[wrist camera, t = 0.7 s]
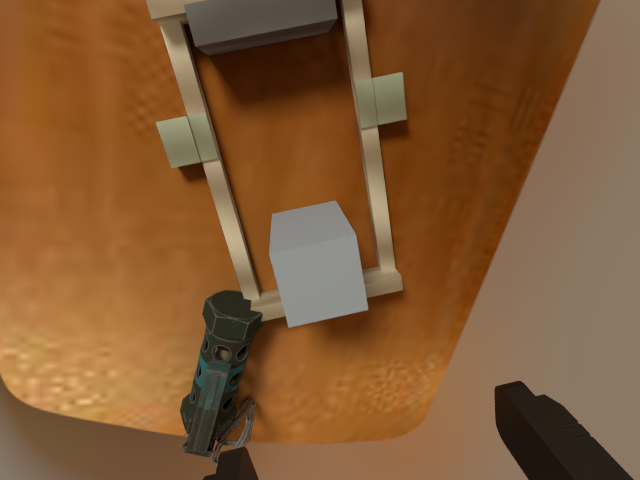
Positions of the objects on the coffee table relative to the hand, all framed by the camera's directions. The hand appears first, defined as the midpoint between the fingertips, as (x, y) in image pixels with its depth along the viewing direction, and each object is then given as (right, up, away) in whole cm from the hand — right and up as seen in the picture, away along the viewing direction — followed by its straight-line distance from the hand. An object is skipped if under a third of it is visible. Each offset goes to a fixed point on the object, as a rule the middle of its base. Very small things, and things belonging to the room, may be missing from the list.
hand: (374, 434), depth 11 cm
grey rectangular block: (-2, +6, +17) cm, 19 cm away
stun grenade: (-10, -5, +21) cm, 23 cm away
